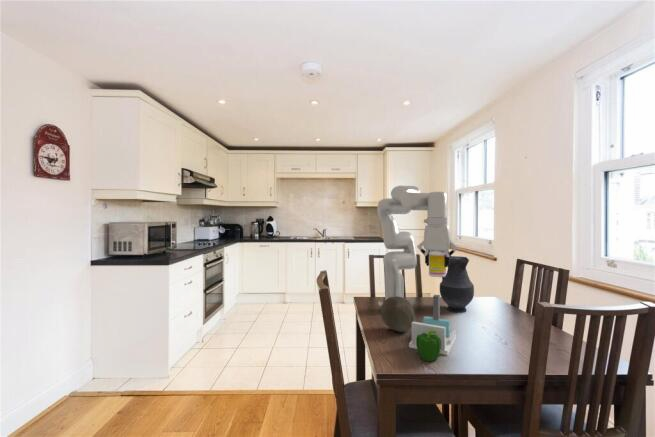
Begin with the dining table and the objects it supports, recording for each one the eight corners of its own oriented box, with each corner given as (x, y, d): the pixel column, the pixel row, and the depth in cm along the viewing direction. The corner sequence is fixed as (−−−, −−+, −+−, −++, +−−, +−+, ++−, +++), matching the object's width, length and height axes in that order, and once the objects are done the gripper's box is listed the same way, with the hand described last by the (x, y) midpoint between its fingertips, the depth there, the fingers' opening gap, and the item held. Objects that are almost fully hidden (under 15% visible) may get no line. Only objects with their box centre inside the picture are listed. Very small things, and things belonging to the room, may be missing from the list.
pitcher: (459, 316, 161) (459, 256, 161) (427, 306, 179) (427, 252, 179) (481, 311, 170) (481, 254, 170) (448, 302, 188) (449, 251, 188)
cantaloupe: (406, 325, 149) (406, 292, 149) (419, 336, 135) (419, 300, 135) (376, 326, 147) (376, 293, 147) (387, 338, 133) (387, 301, 133)
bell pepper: (414, 361, 112) (414, 332, 111) (417, 352, 119) (417, 325, 119) (440, 365, 108) (440, 336, 108) (442, 356, 116) (442, 328, 116)
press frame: (408, 347, 123) (409, 322, 123) (422, 331, 141) (422, 309, 141) (447, 355, 116) (447, 329, 116) (456, 337, 133) (456, 314, 133)
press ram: (423, 332, 134) (423, 294, 134) (425, 330, 137) (425, 293, 137) (448, 337, 129) (448, 297, 129) (449, 334, 132) (450, 296, 132)
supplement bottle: (447, 277, 128) (447, 245, 128) (429, 277, 129) (429, 245, 129) (444, 274, 134) (444, 244, 134) (427, 274, 135) (427, 243, 135)
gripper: (413, 222, 132) (413, 265, 132) (458, 222, 124) (458, 268, 124) (417, 222, 139) (417, 263, 139) (461, 222, 131) (461, 266, 131)
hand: (437, 265), depth 131 cm, fingers closed on supplement bottle, 6 cm apart
